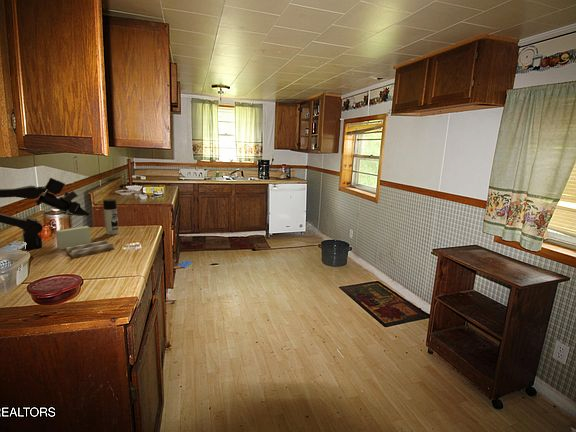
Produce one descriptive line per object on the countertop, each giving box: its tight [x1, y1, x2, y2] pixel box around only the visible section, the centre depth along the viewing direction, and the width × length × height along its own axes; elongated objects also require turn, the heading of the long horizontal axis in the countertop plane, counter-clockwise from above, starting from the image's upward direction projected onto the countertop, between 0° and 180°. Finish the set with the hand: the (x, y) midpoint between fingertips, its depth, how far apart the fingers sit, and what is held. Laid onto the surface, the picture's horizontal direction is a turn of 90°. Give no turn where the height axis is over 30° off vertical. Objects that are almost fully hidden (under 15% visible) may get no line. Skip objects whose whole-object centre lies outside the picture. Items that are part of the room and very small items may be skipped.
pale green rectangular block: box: [55, 225, 92, 250], centre depth 161 cm, size 14×4×9 cm, turn 142°
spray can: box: [102, 198, 120, 236], centre depth 184 cm, size 7×7×20 cm
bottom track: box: [65, 239, 115, 259], centre depth 154 cm, size 18×9×3 cm, turn 142°
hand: (86, 215), depth 168 cm, fingers open, 9 cm apart
